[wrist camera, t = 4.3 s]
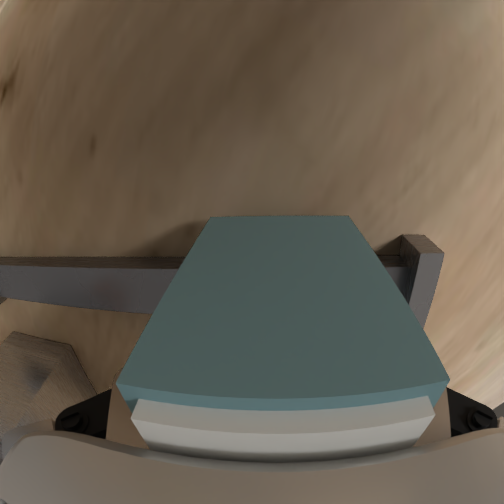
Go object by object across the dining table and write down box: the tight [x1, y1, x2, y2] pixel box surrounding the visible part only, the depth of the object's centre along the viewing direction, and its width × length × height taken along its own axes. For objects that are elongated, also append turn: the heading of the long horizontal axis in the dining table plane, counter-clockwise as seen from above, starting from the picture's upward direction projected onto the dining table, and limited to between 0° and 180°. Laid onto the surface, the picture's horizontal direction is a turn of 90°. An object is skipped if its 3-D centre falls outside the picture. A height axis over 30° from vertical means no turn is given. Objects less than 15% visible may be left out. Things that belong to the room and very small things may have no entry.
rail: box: [0, 235, 444, 328], centre depth 13 cm, size 27×4×2 cm, turn 92°
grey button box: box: [0, 331, 97, 443], centre depth 14 cm, size 7×7×9 cm
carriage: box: [116, 216, 450, 463], centre depth 9 cm, size 5×7×9 cm
